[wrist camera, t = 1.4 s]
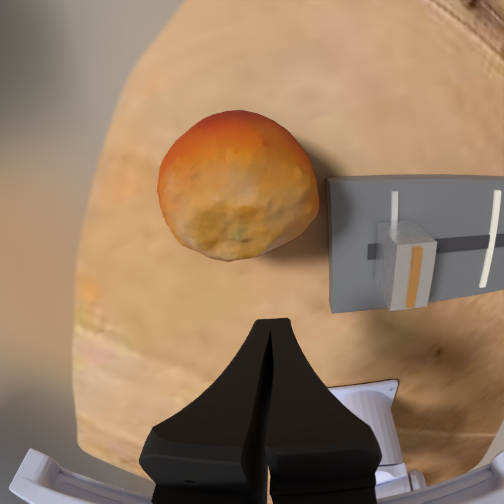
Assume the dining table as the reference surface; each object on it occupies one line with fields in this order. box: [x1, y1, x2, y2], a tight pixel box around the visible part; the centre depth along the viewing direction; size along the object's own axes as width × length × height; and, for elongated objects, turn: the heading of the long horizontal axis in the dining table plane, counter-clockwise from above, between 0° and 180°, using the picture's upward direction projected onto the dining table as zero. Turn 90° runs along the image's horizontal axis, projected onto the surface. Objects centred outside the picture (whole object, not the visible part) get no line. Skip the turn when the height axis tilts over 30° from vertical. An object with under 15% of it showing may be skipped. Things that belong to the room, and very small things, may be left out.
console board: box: [326, 175, 504, 314], centre depth 18 cm, size 9×16×2 cm, turn 97°
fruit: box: [157, 110, 320, 262], centre depth 16 cm, size 8×8×8 cm
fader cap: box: [375, 220, 437, 311], centre depth 16 cm, size 4×2×4 cm, turn 7°
